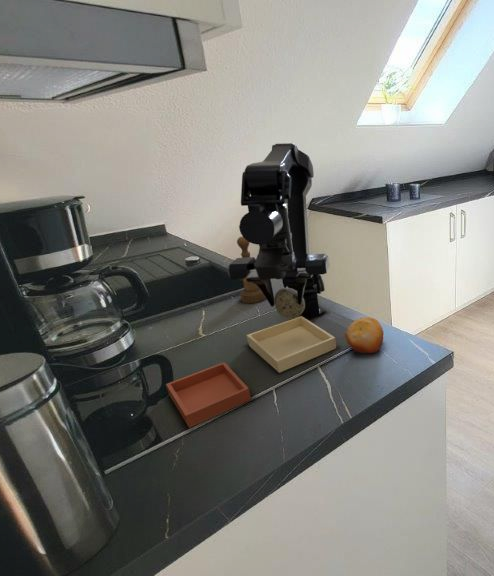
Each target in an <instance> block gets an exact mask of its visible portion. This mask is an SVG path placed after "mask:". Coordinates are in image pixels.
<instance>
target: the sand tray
mask: <svg viewBox="0 0 494 576" xmlns="http://www.w3.org/2000/svg"><path fill="white" fill-rule="evenodd" d="M246 339H247V343H248V346H249V347H250V348H251V349H252V351H254V352H255V353H256V354H258V355H259V357H261V358H262V359H263V360H264V361H265V362H266V363H267V364H269V365H270V366H271V367H272V368H273V369H274V370H275V371H277V372H278V373H279V374H280V373H282V372H284V371H287V370H289V369H291V368H293V367H296V366H299V365H301V364H303V363H305V362H308V361H310V360H313V359H314V358H315V359H316V358H317V357H319V356H323V355H325V354H327V353H329V352H331V351H334V350H335V349H337V342H336V341H337V340H336V337H335V336H333V335H332V334H330V333H329V332H327V331H325V330H324V329H323V328H321V327H319V326H318V325H316V324H315V323H313V322H311V321H310V320H309V319H305V318H304V317H302V316H300V317H296V318H293V319H289V320H285V321H282V322H280V323H277V324H275V325H272V326H269V327H266V328H263V329H260V330H256V331H254V332H252V333H249V334H246Z"/></svg>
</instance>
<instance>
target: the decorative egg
mask: <svg viewBox="0 0 494 576" xmlns="http://www.w3.org/2000/svg"><path fill="white" fill-rule="evenodd" d="M274 306H275V309H276V311H277V313H278V314H279V315H280V316H281V317H283V318H286V319H289V320H292V319H294V318H297V317H298V316H300V315H301V314H302V313H303V311H304V309H305V301H304V298H303V299H302V303H301V305H299V303H298V294H297V291H296V290H294V289H292V288H284V287H282V288H280V289H278V290H277V292H276V293H275V295H274Z"/></svg>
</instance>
